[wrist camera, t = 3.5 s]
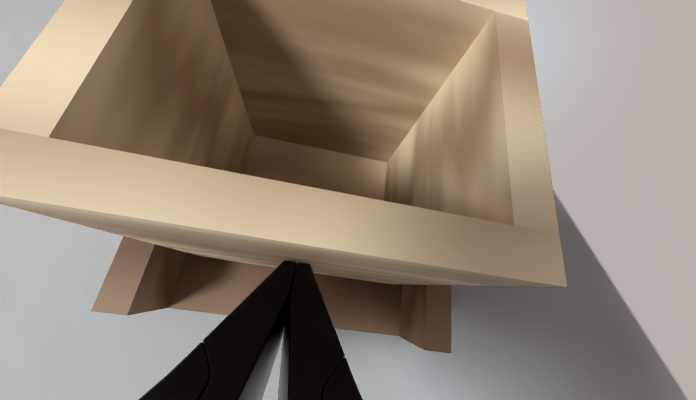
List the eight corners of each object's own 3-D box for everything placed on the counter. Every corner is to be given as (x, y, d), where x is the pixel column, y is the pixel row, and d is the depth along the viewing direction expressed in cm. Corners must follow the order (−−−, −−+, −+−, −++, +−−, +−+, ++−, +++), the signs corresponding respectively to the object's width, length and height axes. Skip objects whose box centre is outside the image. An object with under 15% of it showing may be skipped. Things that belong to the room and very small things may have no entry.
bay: (412, 334, 15) (482, 368, 9) (152, 302, 13) (36, 318, 7) (423, 90, 20) (469, 17, 15) (245, 46, 19) (222, -55, 13)
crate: (389, 284, 14) (567, 287, 5) (201, 256, 13) (-73, 184, 3) (399, 157, 17) (524, -4, 7) (243, 124, 15) (154, -120, 6)
